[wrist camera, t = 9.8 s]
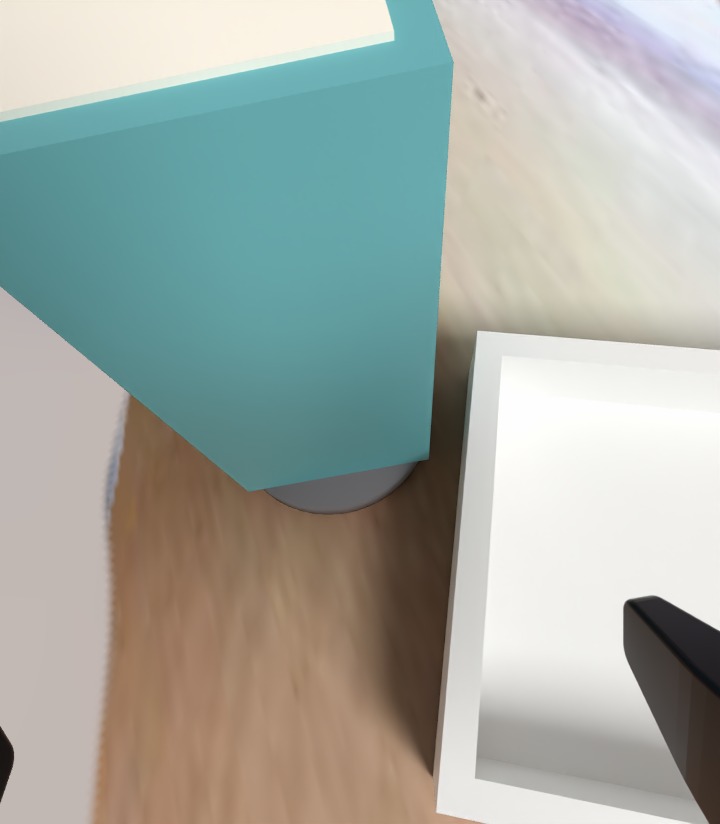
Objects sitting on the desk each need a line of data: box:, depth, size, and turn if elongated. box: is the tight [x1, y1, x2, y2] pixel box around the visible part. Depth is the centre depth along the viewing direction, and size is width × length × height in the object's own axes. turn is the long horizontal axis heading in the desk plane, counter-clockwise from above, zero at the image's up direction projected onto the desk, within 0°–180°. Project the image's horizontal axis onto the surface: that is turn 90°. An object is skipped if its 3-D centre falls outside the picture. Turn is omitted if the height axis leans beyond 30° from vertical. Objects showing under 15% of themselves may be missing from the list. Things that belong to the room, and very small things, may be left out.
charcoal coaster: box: [264, 461, 419, 514], centre depth 19 cm, size 7×7×1 cm
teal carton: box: [0, 0, 453, 492], centre depth 12 cm, size 5×6×13 cm
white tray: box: [433, 331, 720, 824], centre depth 15 cm, size 13×13×3 cm
